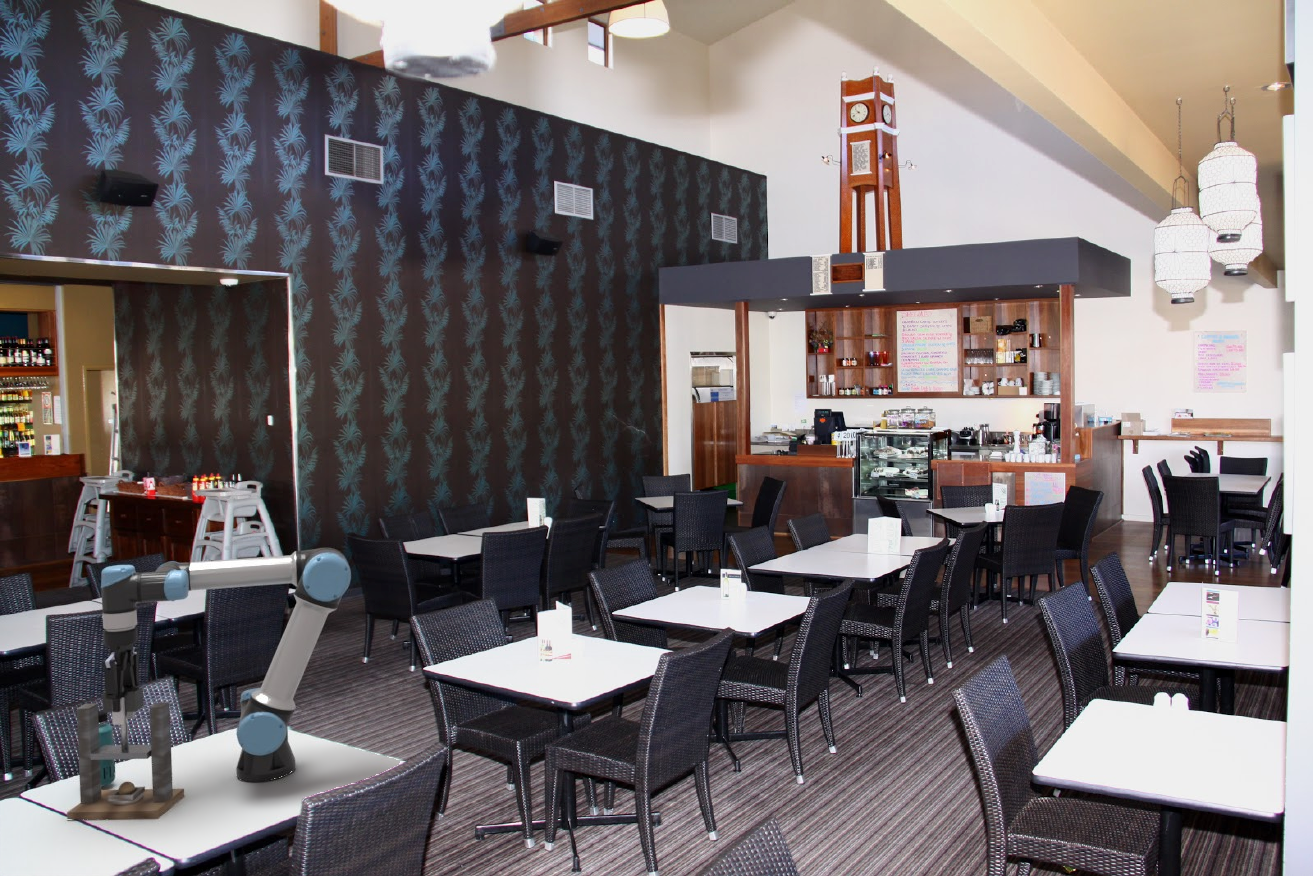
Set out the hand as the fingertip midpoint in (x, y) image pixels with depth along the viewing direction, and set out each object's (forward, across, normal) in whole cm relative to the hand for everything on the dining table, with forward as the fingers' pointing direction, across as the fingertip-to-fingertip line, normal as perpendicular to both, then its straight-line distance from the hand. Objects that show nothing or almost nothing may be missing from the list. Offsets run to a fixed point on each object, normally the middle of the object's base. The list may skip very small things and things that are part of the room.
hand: (124, 720), depth 253 cm
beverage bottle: (+22, -14, -14) cm, 30 cm away
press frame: (+22, 0, 0) cm, 22 cm away
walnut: (+17, 0, 0) cm, 17 cm away
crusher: (+9, 0, 0) cm, 9 cm away
